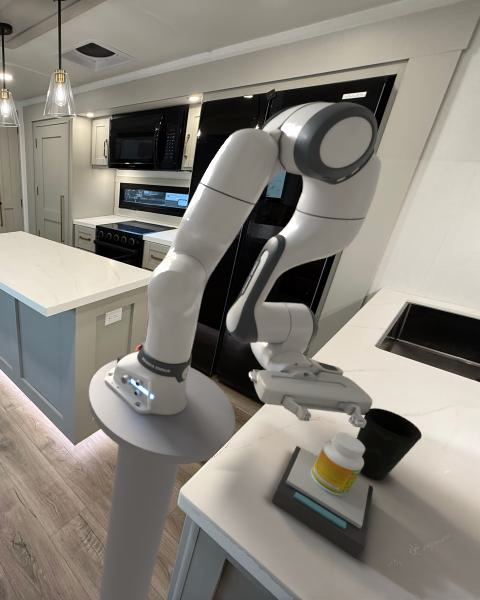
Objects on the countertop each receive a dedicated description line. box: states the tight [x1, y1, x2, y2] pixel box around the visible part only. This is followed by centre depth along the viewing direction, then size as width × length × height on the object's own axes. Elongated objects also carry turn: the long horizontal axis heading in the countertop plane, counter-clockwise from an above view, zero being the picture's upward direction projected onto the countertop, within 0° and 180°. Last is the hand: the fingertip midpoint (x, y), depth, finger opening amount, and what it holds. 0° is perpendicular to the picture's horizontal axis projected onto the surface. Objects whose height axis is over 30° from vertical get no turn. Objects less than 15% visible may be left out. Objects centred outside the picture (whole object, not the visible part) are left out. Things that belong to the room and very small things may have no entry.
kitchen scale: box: [270, 445, 374, 559], centre depth 55 cm, size 12×14×4 cm
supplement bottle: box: [311, 432, 365, 496], centre depth 53 cm, size 5×5×10 cm
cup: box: [355, 407, 423, 481], centre depth 60 cm, size 8×8×12 cm
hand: (333, 421), depth 56 cm, fingers open, 8 cm apart
